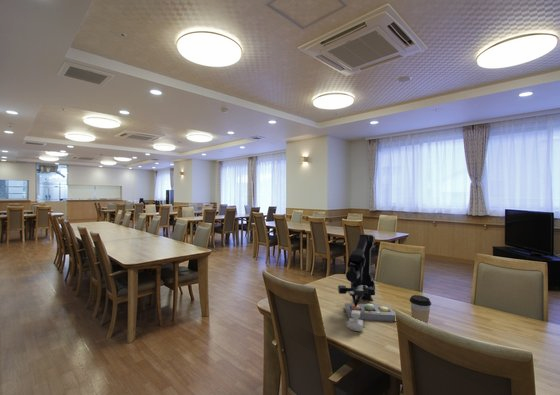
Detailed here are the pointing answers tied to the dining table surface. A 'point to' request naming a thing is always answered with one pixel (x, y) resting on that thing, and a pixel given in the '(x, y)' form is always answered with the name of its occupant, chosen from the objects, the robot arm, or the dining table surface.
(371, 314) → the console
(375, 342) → the dining table surface
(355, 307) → the button terracotta
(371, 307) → the button sage
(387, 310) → the button mustard
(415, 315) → the coffee cup
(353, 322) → the stamp
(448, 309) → the dining table surface
